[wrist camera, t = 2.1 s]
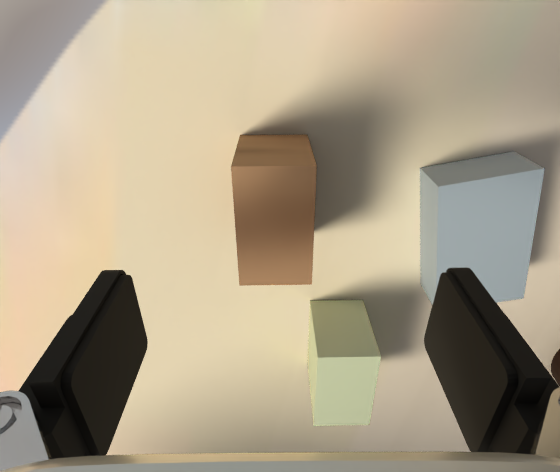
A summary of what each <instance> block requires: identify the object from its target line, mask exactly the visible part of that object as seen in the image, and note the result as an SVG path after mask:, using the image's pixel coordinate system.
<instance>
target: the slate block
mask: <svg viewBox="0 0 560 472" xmlns="http://www.w3.org/2000/svg"><path fill="white" fill-rule="evenodd" d="M544 170H545V168H543V167H541V166H540V165H538V164H536V163H534V162H532V161H531V160H529V159H527V158H525V157H523V156H522V155H520V154H518V153H516V152H514V151H512V152H507V153H501V154H496V155H490V156H484V157H479V158H473V159H468V160H462V161H456V162H451V163H445V164H440V165H434V166H428V167H423V168H420V266H421V286H422V287H423V289H424V291H425V293H426V295H427V296H428V298H429V300H430V302H431V304H432V305H433V302H434V298H435V294H436V290H437V286H438V282H439V278H440V275H441V273H443V272H446V270H447V269H448V268H470V269H471V270H472V271H473V272H474V274H475V275H476V276H477V278H478V279H479V280H480V282H481V283H482V284H483V286H484V287H485V289H486V290H487V291H488V293H489V294H490V295H491V297H492V298H493V299H494V301H495V302H502V301H509V300H516V299H522V298H524V292H525V286H526V280H527V274H528V268H529V262H530V256H531V249H532V243H533V237H534V231H535V225H536V219H537V213H538V207H539V201H540V195H541V188H542V182H543V176H544Z"/></svg>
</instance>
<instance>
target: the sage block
mask: <svg viewBox="0 0 560 472" xmlns="http://www.w3.org/2000/svg"><path fill="white" fill-rule="evenodd" d="M380 360H381V355H380V352H379V348H378V345H377V342H376V339H375V336H374V333H373V330H372V327H371V324H370V321H369V317H368V314H367V311H366V308H365V305H364V302H363V300H314V301H310V315H309V339H308V363H307V365H308V375H309V385H310V395H311V405H312V415H313V424H314V426H342V425H369V424H370V418H371V412H372V406H373V401H374V395H375V389H376V383H377V377H378V372H379V366H380Z"/></svg>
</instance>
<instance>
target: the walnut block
mask: <svg viewBox="0 0 560 472" xmlns="http://www.w3.org/2000/svg"><path fill="white" fill-rule="evenodd" d="M231 171H232V185H233V199H234V213H235V228H236V242H237V256H238V270H239V284H240V285H302V284H312V265H313V241H314V218H315V195H316V172H317V165H316V162H315V158H314V155H313V152H312V148H311V145H310V142H309V138H308V135H240V137H239V141H238V144H237V148H236V151H235V155H234V159H233V162H232V166H231Z"/></svg>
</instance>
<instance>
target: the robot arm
mask: <svg viewBox="0 0 560 472" xmlns="http://www.w3.org/2000/svg"><path fill="white" fill-rule="evenodd" d="M424 344H425V348H426V351H427V353H428V355H429V358H430V360H431V362H432V365H433V367H434V369H435V371H436V374H437V376H438V378H439V381H440V383H441V385H442V388H443V390H444V392H445V394H446V397H447V399H448V401H449V404H450V406H451V408H452V411H453V413H454V415H455V417H456V420H457V422H458V424H459V427H460V429H461V431H462V434H463V436H464V438H465V440H466V443H467V445H468V447H469V449H470V451H471V452H279V453H194V454H136V455H106V454H107V452H108V450H109V447H110V445H111V442H112V439H113V437H114V434H115V431H116V429H117V426H118V424H119V421H120V418H121V416H122V413H123V411H124V408H125V405H126V403H127V400H128V397H129V395H130V392H131V390H132V387H133V384H134V382H135V379H136V377H137V374H138V371H139V369H140V366H141V364H142V361H143V358H144V356H145V353H146V350H147V336H146V332H145V328H144V324H143V320H142V316H141V312H140V308H139V304H138V300H137V296H136V292H135V288H134V284H133V280H132V277H131V276H130V275H126V273H125V272H124V271H123V270H104V271H102V272H101V273H100V275H99V276H98V278H97V279H96V281H95V282H94V284H93V285H92V286H91V288H90V289H89V291H88V292H87V294H86V295H85V297H84V298H83V300H82V301H81V303H80V304H79V306H78V307H77V309H76V310H75V312H74V313H73V315H71V316H70V317H69V318H68V319H67V320H66V322H65V323H64V324H63V326H62V327H61V329H60V330H59V332H58V333H57V335H56V336H55V338H54V339H53V341H52V342H51V344H50V345H49V347H48V348H47V350H46V351H45V353H44V354H43V356H42V357H41V358H40V360H39V361H38V363H37V364H36V366H35V367H34V369H33V370H32V372H31V373H30V375H29V376H28V378H27V379H26V381H25V382H24V384H23V385H22V387H21V388H20V390H19V391H5V392H0V472H560V387H559V386H558V384H557V383H556V382H555V380H554V379H553V378H552V376H551V375H550V374H549V372H548V371H547V370H546V368H545V367H544V366H543V364H542V363H541V362H540V360H539V359H538V358H537V356H536V355H535V353H534V352H533V351H532V349H531V348H530V347H529V345H528V344H527V343H526V341H525V340H524V339H523V337H522V336H521V335H520V333H519V332H518V331H517V329H516V328H515V327H514V325H513V324H512V323H511V321H510V320H509V319H508V317H507V316H506V315H505V314H504V313H503V311H502V310H501V309H500V307H499V306H498V305H497V303H496V302H495V301H494V299H493V298H492V297H491V295H490V294H489V293H488V291H487V290H486V289H485V287H484V286H483V284H482V283H481V282H480V280H479V279H478V278H477V276H476V275H475V274H474V272H473V271H472V270H471V269H470V268H448V269H447V270H446V272H443V273H441V275H440V278H439V282H438V286H437V290H436V294H435V298H434V302H433V305H432V309H431V313H430V317H429V321H428V325H427V329H426V333H425V337H424Z"/></svg>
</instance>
